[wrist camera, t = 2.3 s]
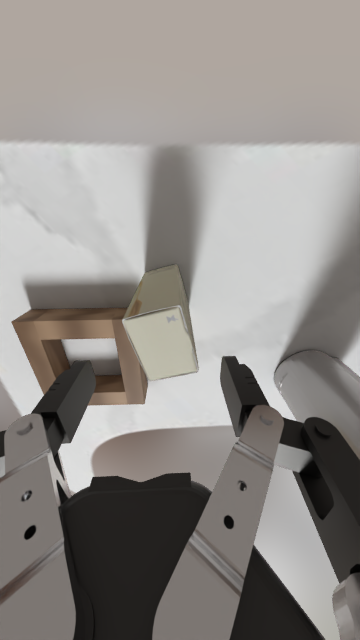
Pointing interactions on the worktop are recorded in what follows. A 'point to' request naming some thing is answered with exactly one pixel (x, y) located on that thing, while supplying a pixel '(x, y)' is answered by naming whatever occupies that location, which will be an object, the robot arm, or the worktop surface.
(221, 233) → the worktop surface
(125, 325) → the skincare box
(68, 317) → the socket block
